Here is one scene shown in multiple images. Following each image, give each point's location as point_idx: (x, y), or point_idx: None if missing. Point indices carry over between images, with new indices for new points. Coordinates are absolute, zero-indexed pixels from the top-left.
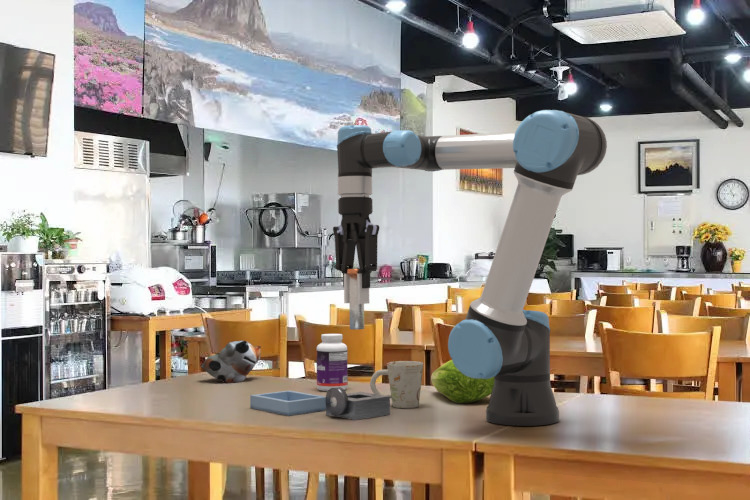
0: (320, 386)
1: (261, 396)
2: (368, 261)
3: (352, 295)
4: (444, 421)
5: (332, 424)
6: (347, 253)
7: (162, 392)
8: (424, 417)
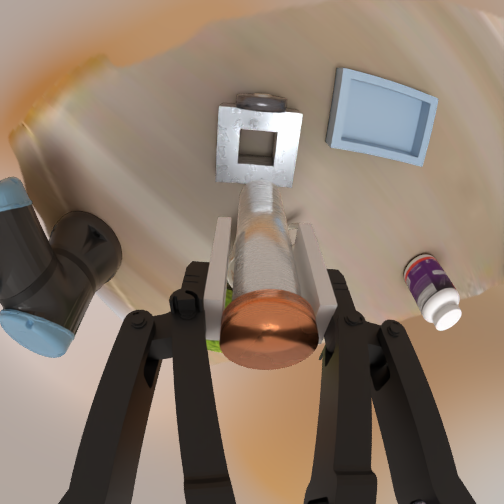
0: (428, 256)
1: (418, 95)
2: (115, 348)
3: (259, 233)
4: (127, 185)
5: (220, 57)
6: (335, 411)
7: None
8: (167, 188)
